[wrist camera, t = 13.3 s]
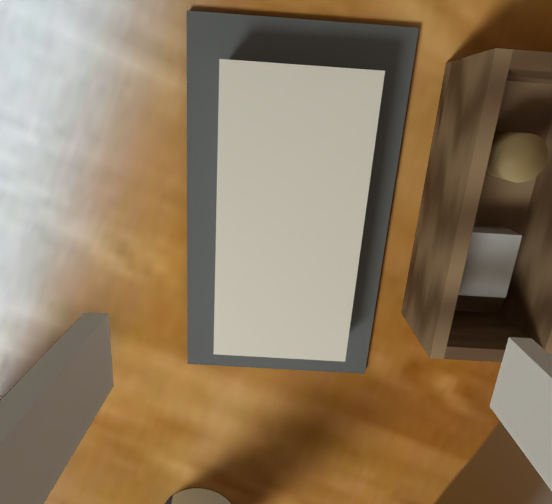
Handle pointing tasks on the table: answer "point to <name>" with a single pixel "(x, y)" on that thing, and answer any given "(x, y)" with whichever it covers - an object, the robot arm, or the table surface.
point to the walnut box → (486, 211)
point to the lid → (291, 205)
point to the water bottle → (197, 497)
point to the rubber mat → (204, 147)
